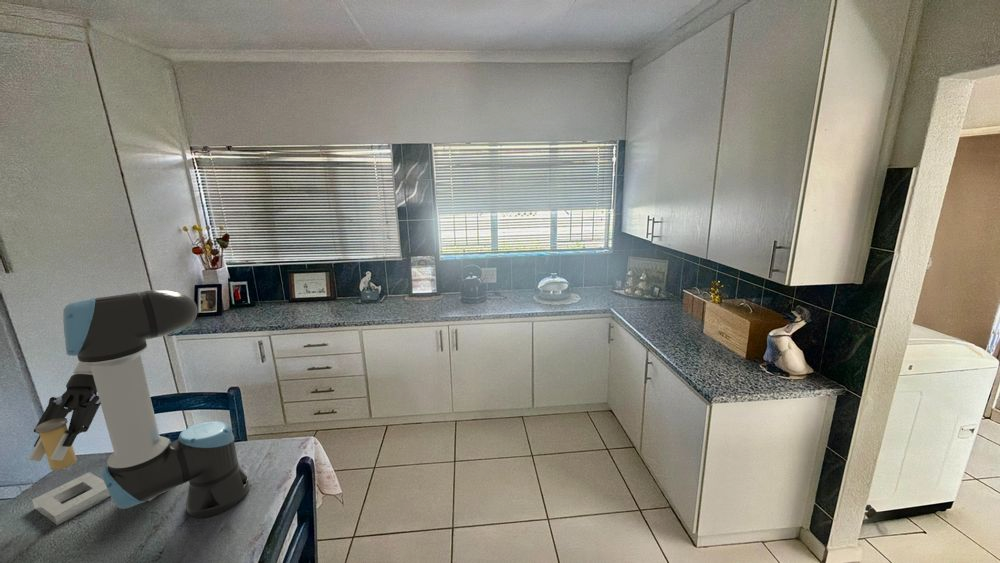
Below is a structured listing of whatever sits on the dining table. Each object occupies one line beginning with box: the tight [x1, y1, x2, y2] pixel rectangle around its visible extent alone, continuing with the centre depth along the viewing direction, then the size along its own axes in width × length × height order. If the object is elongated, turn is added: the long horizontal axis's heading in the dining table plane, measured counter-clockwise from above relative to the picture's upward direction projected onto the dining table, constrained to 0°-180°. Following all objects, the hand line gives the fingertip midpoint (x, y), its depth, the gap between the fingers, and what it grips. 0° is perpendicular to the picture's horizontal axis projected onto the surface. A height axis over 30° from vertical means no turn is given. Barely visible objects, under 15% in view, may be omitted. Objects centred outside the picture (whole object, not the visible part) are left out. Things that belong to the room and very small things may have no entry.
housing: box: [31, 472, 111, 526], centre depth 111 cm, size 14×12×3 cm
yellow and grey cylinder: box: [34, 417, 78, 471], centre depth 107 cm, size 6×6×13 cm
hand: (45, 459), depth 104 cm, fingers closed on yellow and grey cylinder, 5 cm apart
